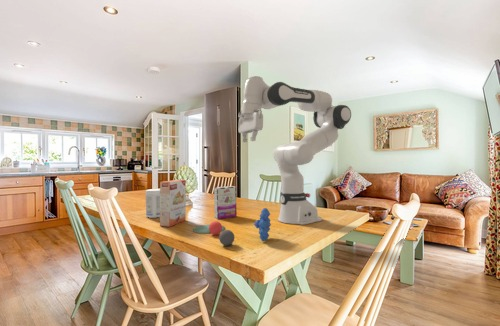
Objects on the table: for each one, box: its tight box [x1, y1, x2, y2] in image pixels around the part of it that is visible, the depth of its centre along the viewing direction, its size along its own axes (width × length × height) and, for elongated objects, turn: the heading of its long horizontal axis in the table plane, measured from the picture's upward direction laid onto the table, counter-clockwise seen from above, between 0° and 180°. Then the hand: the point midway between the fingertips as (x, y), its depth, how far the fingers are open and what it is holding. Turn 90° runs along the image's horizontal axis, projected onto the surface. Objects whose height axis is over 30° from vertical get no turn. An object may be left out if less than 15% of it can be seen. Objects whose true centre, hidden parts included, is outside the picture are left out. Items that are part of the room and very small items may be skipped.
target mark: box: [192, 223, 226, 235], centre depth 111 cm, size 14×14×1 cm
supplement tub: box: [145, 188, 160, 219], centre depth 137 cm, size 10×10×15 cm
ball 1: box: [208, 220, 223, 236], centre depth 103 cm, size 6×6×6 cm
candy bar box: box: [213, 185, 238, 220], centre depth 134 cm, size 11×5×16 cm, turn 119°
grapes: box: [253, 207, 272, 242], centre depth 96 cm, size 12×7×12 cm, turn 168°
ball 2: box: [218, 229, 235, 247], centre depth 90 cm, size 6×6×6 cm
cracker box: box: [159, 179, 187, 228], centre depth 122 cm, size 14×6×21 cm, turn 164°
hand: (248, 141), depth 115 cm, fingers open, 8 cm apart
